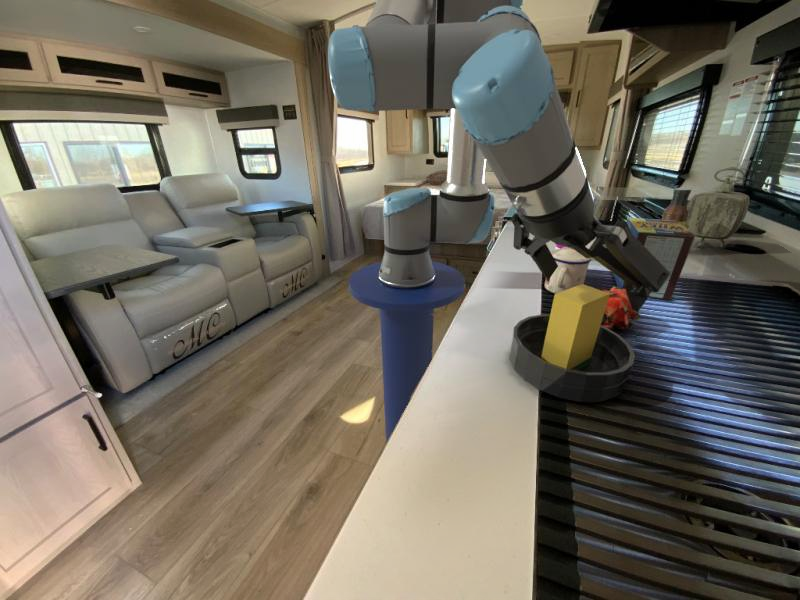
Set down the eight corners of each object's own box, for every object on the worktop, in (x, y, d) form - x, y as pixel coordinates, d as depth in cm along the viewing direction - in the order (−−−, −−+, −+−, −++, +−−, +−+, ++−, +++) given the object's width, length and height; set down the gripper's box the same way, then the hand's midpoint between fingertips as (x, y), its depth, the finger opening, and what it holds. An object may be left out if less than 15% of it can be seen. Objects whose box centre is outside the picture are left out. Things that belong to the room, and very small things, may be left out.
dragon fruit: (621, 321, 71) (599, 350, 65) (592, 292, 73) (567, 317, 67) (658, 302, 64) (637, 332, 58) (625, 270, 66) (601, 296, 60)
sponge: (539, 364, 55) (554, 294, 49) (565, 351, 58) (582, 283, 52) (563, 379, 52) (582, 305, 46) (589, 364, 55) (610, 293, 49)
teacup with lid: (548, 279, 89) (556, 237, 84) (585, 286, 84) (596, 242, 79) (535, 295, 80) (544, 249, 75) (576, 304, 75) (589, 256, 70)
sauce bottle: (678, 252, 107) (702, 189, 99) (671, 256, 104) (695, 191, 95) (654, 248, 112) (675, 186, 103) (647, 251, 109) (668, 188, 100)
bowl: (528, 330, 66) (532, 305, 63) (629, 361, 56) (639, 333, 54) (493, 375, 54) (497, 346, 51) (615, 424, 44) (627, 392, 42)
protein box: (656, 277, 89) (676, 220, 82) (671, 301, 76) (696, 235, 69) (611, 272, 93) (627, 216, 86) (618, 293, 80) (638, 230, 73)
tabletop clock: (731, 248, 111) (766, 168, 100) (725, 254, 106) (762, 170, 94) (678, 239, 121) (705, 166, 110) (671, 244, 116) (698, 167, 104)
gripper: (452, 202, 45) (511, 279, 59) (658, 248, 26) (674, 344, 40) (484, 159, 45) (535, 245, 59) (711, 173, 27) (708, 295, 40)
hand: (591, 285), depth 50 cm, fingers open, 13 cm apart
